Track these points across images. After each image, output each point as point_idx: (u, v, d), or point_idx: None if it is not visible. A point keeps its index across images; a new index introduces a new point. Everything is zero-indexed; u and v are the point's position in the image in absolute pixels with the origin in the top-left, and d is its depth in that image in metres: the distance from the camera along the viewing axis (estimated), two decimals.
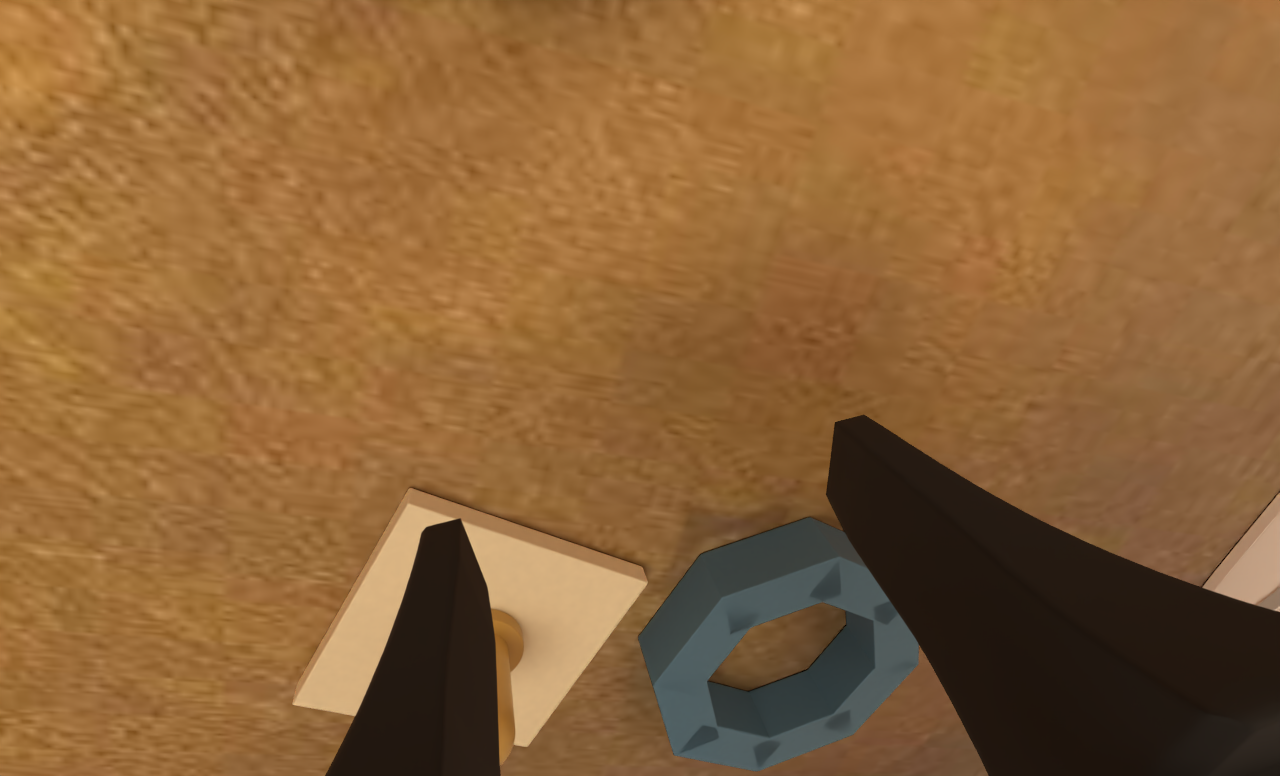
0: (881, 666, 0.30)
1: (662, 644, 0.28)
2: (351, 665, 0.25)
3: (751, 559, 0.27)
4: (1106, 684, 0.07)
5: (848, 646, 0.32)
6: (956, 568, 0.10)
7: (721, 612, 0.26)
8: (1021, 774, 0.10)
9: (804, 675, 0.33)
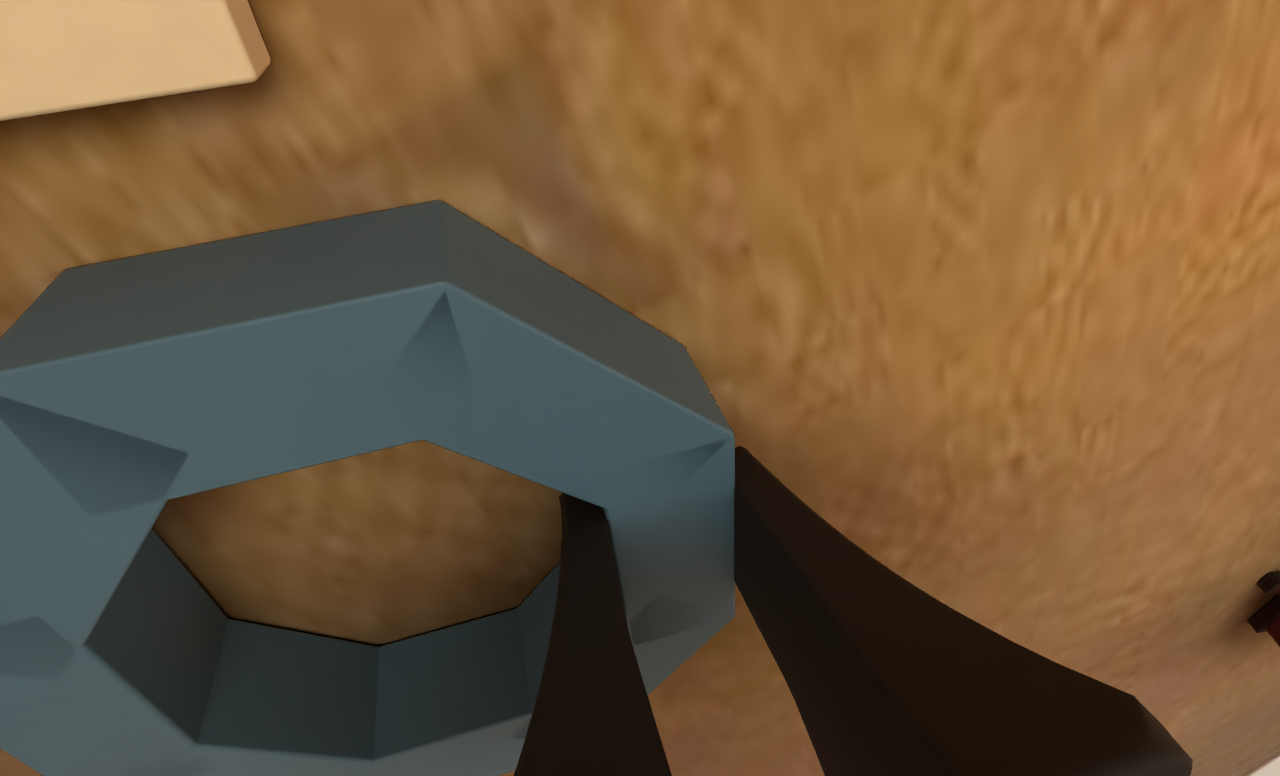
0: None
1: (124, 305, 0.08)
2: None
3: (554, 295, 0.10)
4: (908, 752, 0.07)
5: (497, 646, 0.15)
6: (804, 613, 0.10)
7: (401, 325, 0.08)
8: None
9: (367, 653, 0.15)
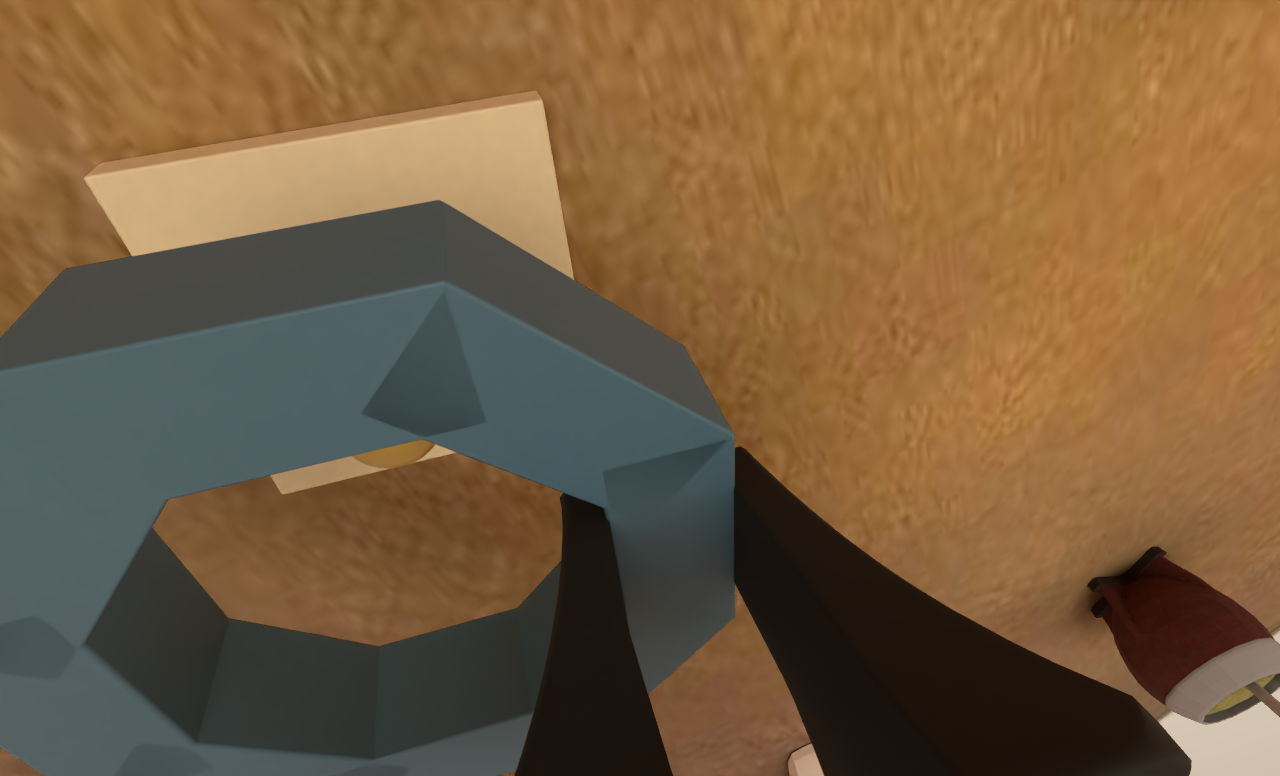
0: None
1: (125, 304, 0.08)
2: (233, 208, 0.15)
3: (554, 295, 0.10)
4: (907, 752, 0.07)
5: (497, 646, 0.15)
6: (803, 614, 0.10)
7: (401, 325, 0.08)
8: None
9: (367, 652, 0.15)
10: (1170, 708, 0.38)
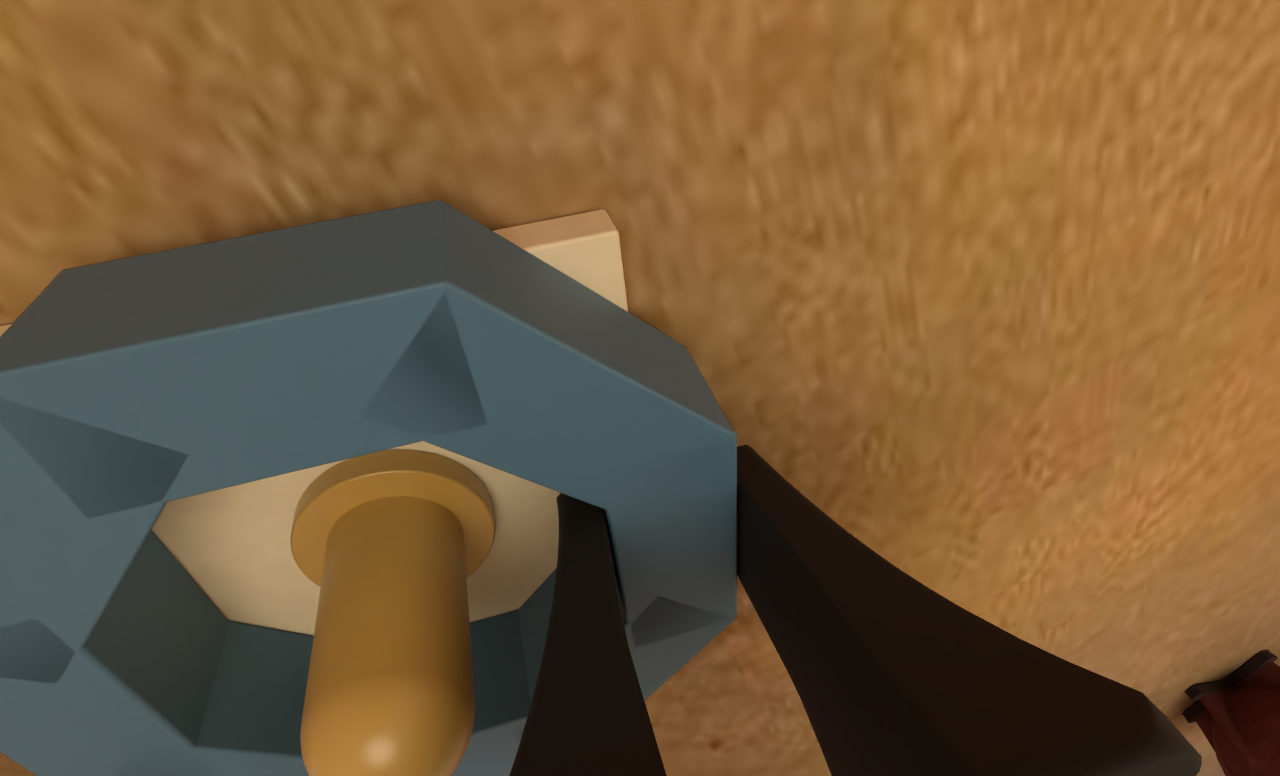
0: None
1: (123, 306, 0.08)
2: None
3: (555, 296, 0.10)
4: (917, 749, 0.07)
5: (498, 648, 0.15)
6: (810, 612, 0.10)
7: (402, 326, 0.08)
8: None
9: None
10: None
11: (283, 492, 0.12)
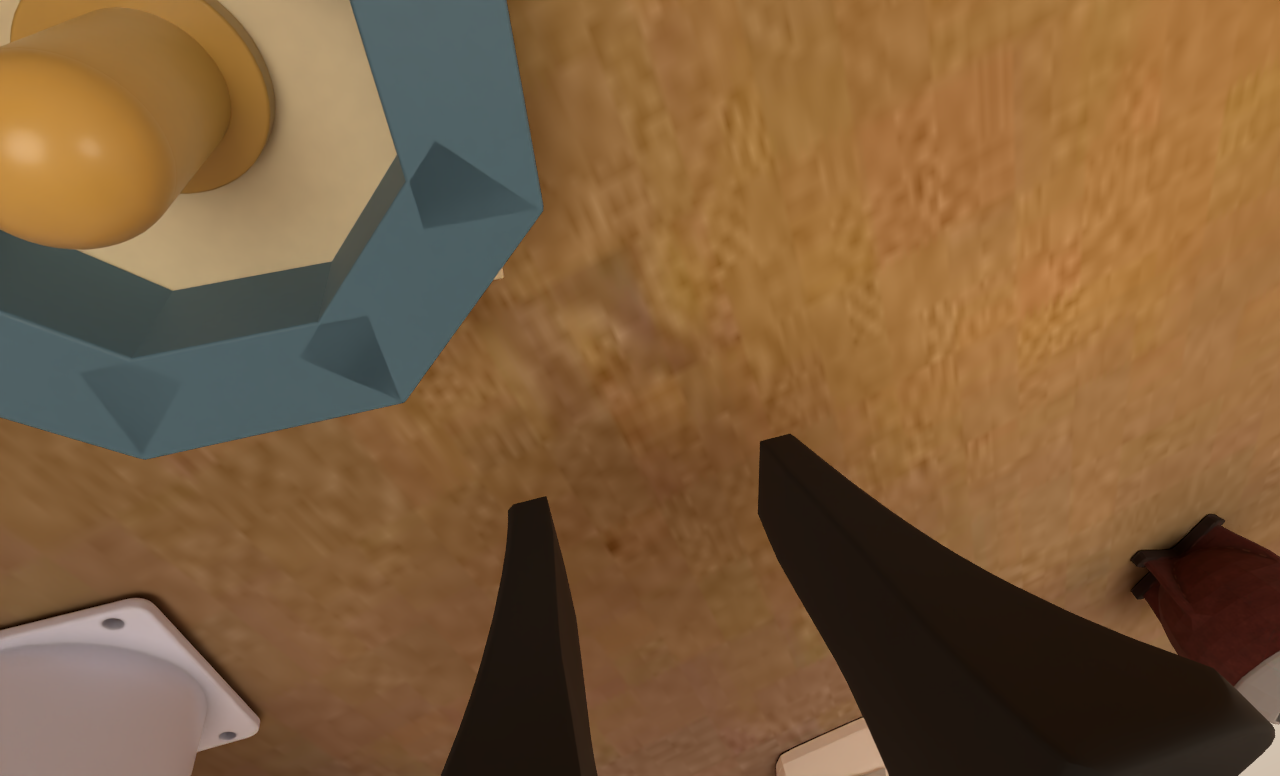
0: (333, 332, 0.12)
1: None
2: None
3: None
4: (988, 724, 0.07)
5: (300, 284, 0.13)
6: (865, 596, 0.10)
7: None
8: None
9: (154, 288, 0.13)
10: None
11: (4, 5, 0.10)
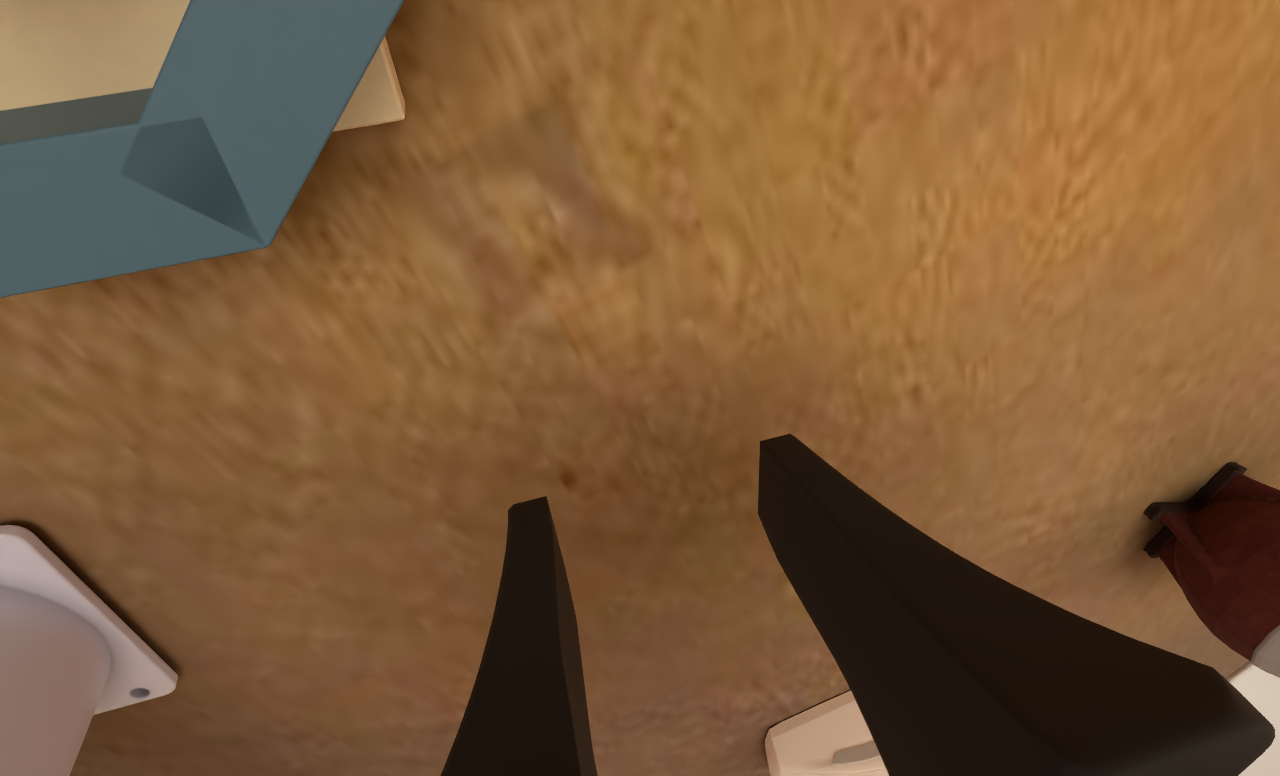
0: (159, 139, 0.10)
1: None
2: None
3: None
4: (988, 724, 0.07)
5: (136, 99, 0.11)
6: (865, 595, 0.10)
7: None
8: None
9: None
10: (1259, 664, 0.29)
11: None
